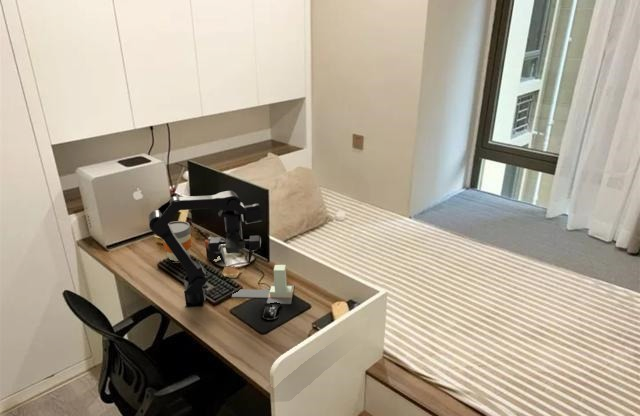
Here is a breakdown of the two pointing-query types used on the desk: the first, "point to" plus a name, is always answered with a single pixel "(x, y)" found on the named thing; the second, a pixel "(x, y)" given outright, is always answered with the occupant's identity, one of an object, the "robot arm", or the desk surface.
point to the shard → (231, 272)
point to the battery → (210, 254)
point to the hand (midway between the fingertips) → (236, 263)
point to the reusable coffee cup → (180, 237)
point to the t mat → (263, 295)
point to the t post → (280, 283)
